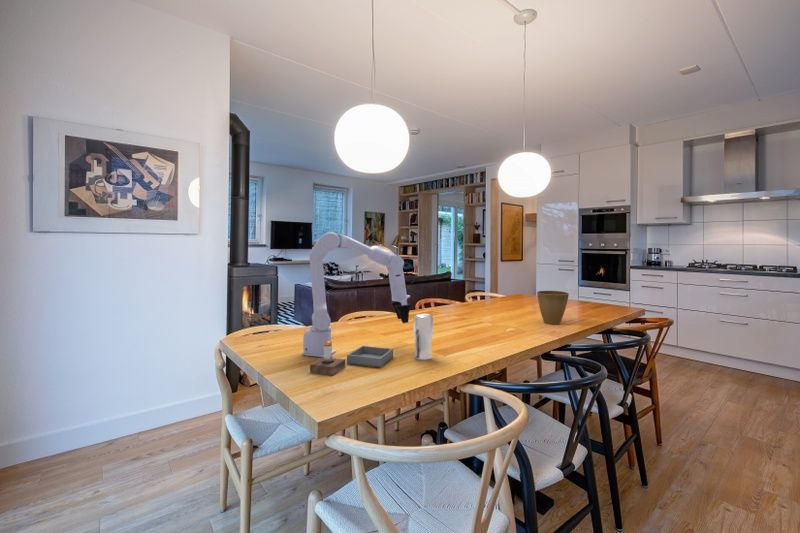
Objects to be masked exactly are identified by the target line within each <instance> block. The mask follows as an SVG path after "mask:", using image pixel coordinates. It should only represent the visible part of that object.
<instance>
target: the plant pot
mask: <svg viewBox="0 0 800 533" xmlns="http://www.w3.org/2000/svg"><path fill="white" fill-rule="evenodd" d="M536 292H537V293H536V294H537V302H538V306H539V307H538V308H539V311H540V315H541V317H542V321H543V322H544V324H547V325H555V326H556V325H560V324H561V322H562V320H563V318H564V314H565V312H566V308H567V306H568V305H567V304H568V300H569V295H570V293H569V292H566V291H561V290H538V291H536Z"/></svg>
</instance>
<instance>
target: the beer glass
mask: <svg viewBox="0 0 800 533" xmlns="http://www.w3.org/2000/svg"><path fill="white" fill-rule="evenodd" d="M412 323H413V325H412V330H413V337H414V338H413V339H414V344H415V345H414V346H415V351H414V355H413V356H414V359H415V360H419V361H430V360H431V359H432V358H433V357H432V348H431V347H432V340H433V334H434V316H433V315H432V314H429V313H417V314H414V315H413V322H412Z"/></svg>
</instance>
